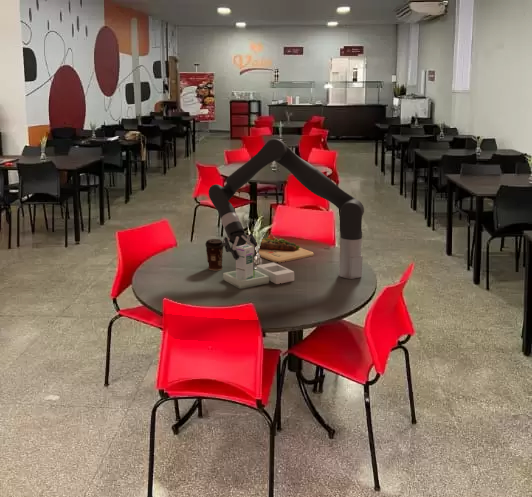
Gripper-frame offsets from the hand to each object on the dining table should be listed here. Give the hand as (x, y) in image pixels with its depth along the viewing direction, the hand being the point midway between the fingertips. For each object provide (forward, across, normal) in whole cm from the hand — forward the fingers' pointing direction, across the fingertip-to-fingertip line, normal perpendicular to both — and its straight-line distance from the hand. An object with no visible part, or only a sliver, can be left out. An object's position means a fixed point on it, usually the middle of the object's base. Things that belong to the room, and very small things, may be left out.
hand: (246, 257), depth 271 cm
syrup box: (+7, 0, +7) cm, 10 cm away
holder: (+9, +14, +6) cm, 17 cm away
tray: (+7, 0, +8) cm, 11 cm away
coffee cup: (-9, -2, +24) cm, 26 cm away
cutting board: (-16, +37, +32) cm, 51 cm away
